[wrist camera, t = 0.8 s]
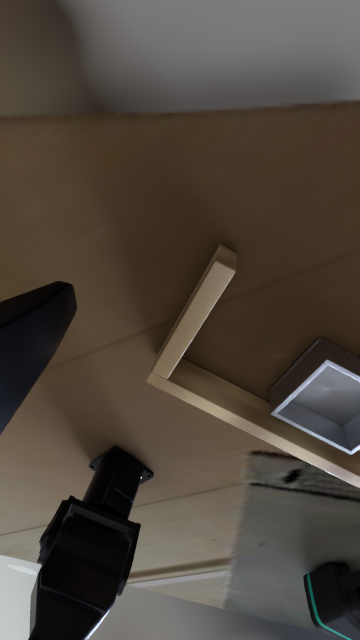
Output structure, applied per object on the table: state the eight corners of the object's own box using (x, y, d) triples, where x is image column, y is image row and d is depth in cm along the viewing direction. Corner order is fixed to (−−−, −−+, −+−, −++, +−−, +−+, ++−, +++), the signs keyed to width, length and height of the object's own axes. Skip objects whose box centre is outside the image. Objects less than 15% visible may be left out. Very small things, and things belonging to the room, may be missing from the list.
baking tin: (403, 380, 24) (420, 408, 22) (342, 427, 28) (350, 455, 26) (319, 336, 24) (327, 359, 21) (268, 389, 28) (270, 414, 25)
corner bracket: (464, 376, 23) (495, 410, 20) (349, 454, 30) (360, 488, 27) (220, 243, 22) (215, 259, 19) (156, 356, 28) (145, 381, 25)
